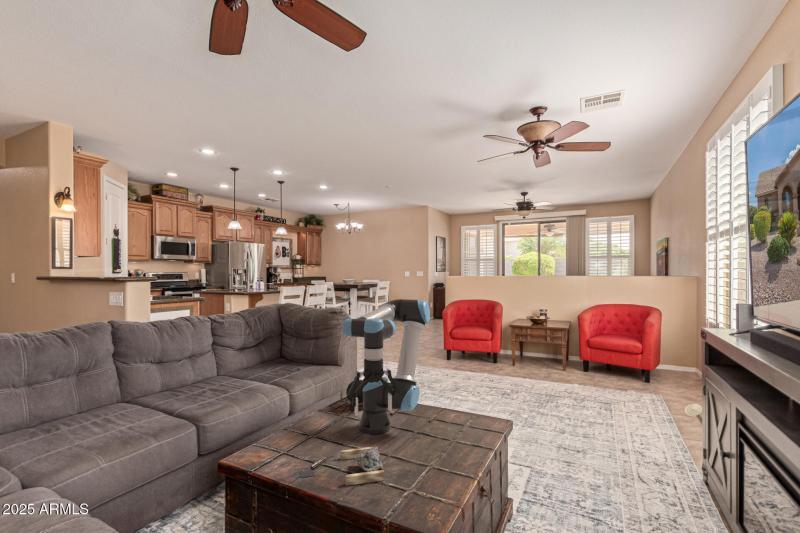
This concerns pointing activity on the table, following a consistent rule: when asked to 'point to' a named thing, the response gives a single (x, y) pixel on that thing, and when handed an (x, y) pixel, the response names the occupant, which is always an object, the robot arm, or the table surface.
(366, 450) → the mineral specimen
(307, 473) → the dark gray rectangular slab
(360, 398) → the black round piece
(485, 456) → the table surface
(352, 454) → the wooden slats
